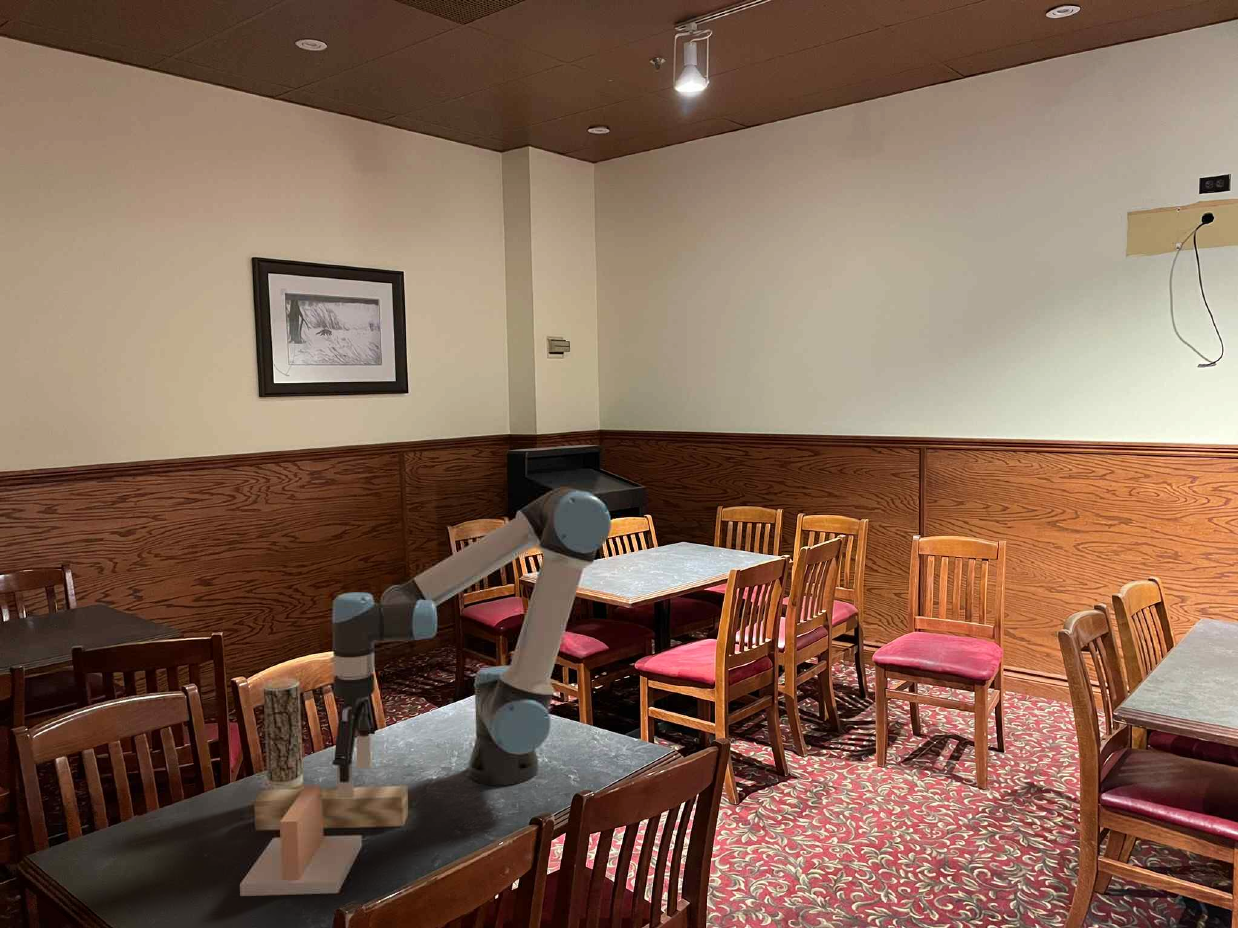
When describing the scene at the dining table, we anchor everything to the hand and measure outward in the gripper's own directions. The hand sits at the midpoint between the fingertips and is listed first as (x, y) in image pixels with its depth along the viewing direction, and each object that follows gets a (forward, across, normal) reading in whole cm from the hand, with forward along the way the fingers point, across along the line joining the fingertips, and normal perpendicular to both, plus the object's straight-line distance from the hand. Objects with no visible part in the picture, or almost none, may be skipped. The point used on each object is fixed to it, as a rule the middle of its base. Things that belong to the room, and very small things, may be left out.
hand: (355, 781), depth 176 cm
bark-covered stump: (+8, -9, -16) cm, 21 cm away
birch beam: (+8, 0, -4) cm, 9 cm away
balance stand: (+8, +18, -4) cm, 20 cm away
